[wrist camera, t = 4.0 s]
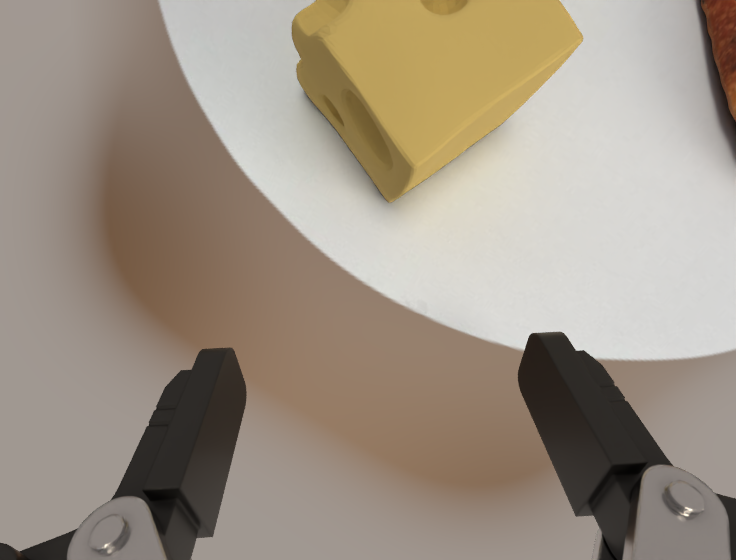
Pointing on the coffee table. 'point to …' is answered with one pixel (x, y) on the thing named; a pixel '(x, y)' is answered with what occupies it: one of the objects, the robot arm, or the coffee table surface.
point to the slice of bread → (723, 44)
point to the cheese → (425, 74)
